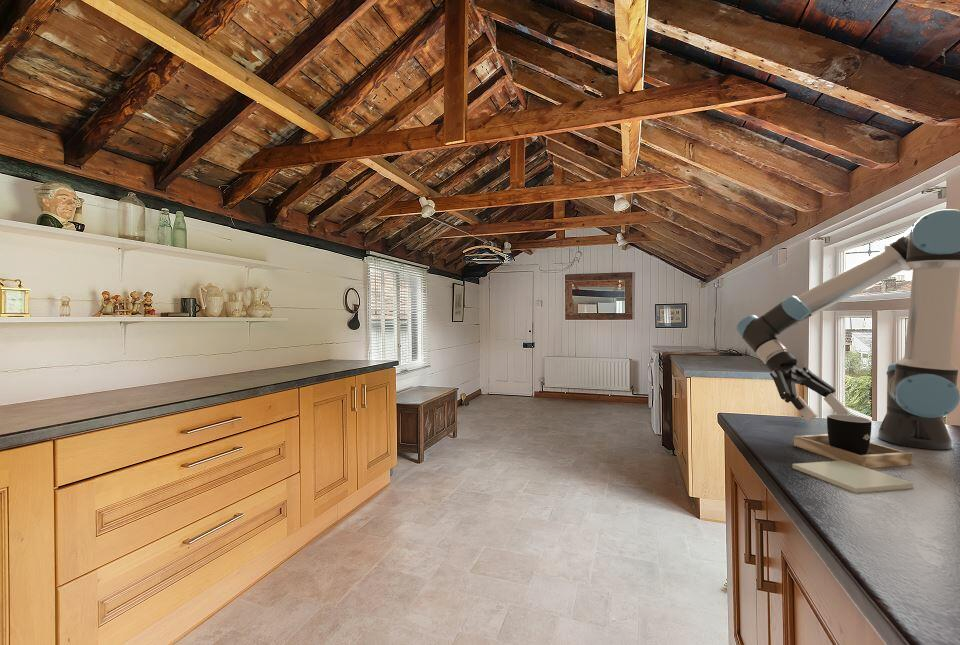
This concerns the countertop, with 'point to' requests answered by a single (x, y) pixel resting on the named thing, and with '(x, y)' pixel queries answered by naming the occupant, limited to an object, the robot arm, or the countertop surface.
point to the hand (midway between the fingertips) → (829, 417)
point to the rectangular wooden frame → (877, 458)
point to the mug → (849, 433)
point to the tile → (852, 476)
